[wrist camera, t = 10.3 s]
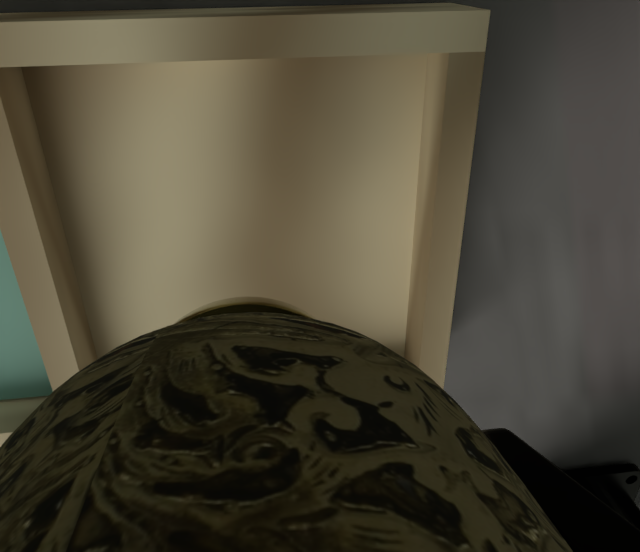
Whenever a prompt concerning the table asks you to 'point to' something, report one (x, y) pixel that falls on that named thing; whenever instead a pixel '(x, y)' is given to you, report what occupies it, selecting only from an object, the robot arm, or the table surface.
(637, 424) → the table surface
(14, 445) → the cup
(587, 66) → the table surface
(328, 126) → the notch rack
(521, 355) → the table surface
